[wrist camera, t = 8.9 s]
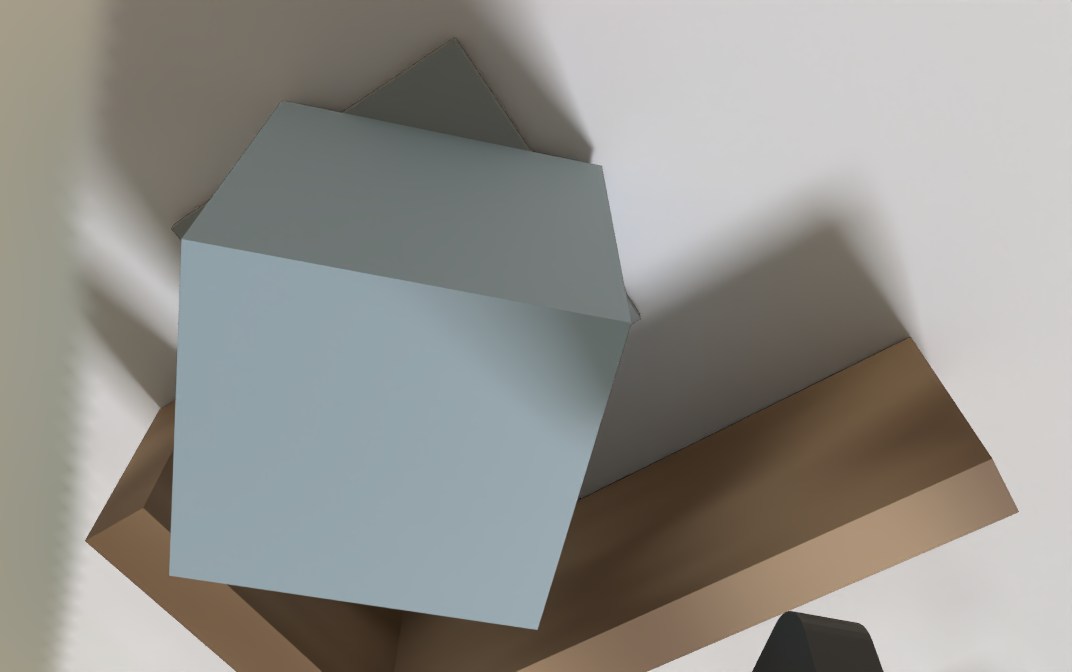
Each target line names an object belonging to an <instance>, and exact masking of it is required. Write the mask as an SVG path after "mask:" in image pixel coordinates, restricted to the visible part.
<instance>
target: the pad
mask: <svg viewBox="0 0 1072 672" xmlns="http://www.w3.org/2000/svg"><path fill="white" fill-rule="evenodd" d="M342 113H346V114H351V115H356V116H361V117H366V118H371V119H375V120H380V121H385V122H390V123H395V124H400V125H405V126H410V127H415V128H419V129H424V130H429V131H434V132H439V133H444V134H449V135H454V136H459V137H463V138H468V139H473V140H478V141H483V142H488V143H493V144H498V145H502V146H507V147H512V148H517V149H522V150H527V151H531V150H530V149H529V147H528V146H527V144H526V143H525V141H524V140H523V138H522V137H521V135H520V134H519V132H518V131H517V129H516V128H515V126H514V125H513V123H512V122H511V120H510V119H509V117H508V116H507V114H506V113H505V111H504V110H503V108H502V107H501V105H500V104H499V102H498V101H497V99H496V98H495V96H494V95H493V93H492V92H491V90H490V89H489V87H488V86H487V84H486V83H485V81H484V80H483V78H482V77H481V75H480V74H479V72H478V71H477V69H476V68H475V66H474V65H473V63H472V62H471V60H470V59H469V57H468V56H467V54H466V53H465V51H464V50H463V48H462V47H461V45H460V44H459V42H458V41H457V39H456V38H455V37H454V38H453V39H451V40H450V41H448V42H447V43H445V44H444V45H442V46H441V47H439V48H438V49H436V50H435V51H433V52H432V53H430V54H429V55H427V56H426V57H424V58H423V59H421V60H420V61H418V62H417V63H415V64H414V65H412V66H411V67H409V68H408V69H406V70H405V71H403V72H402V73H400V74H399V75H397V76H396V77H394V78H393V79H391V80H390V81H388V82H387V83H385V84H384V85H382V86H381V87H379V88H378V89H376V90H375V91H373V92H372V93H370V94H369V95H367V96H366V97H364V98H363V99H361V100H360V101H358V102H357V103H355V104H354V105H352V106H351V107H349V108H348V109H346V110H345V111H343V112H342ZM208 202H209V201H208ZM208 202H207V203H208ZM207 203H205V204H204V205H202V206H201V207H199V208H198V209H196V210H195V211H193V212H192V213H190V214H189V215H187V216H186V217H184V218H183V219H181V220H180V221H178V222H177V223H175V224H174V225H173V227H172V228H171V230H172V231H173V232H174V233H175V234H176V235H177V236H178V237H179V238H180V240H181V239H182V238H183V236H184V235H185V233H186V232H187V231H188V229H189V228H190V227H191V225H192V224H193V222H194V221H195V220H196V218H197V217H198V216H199V214H200V213H201V211H202V210H203V209H204V207H205V206H206V205H207ZM626 297H627V302H628V308H629V313H630V318H631V324H633V323H635V322H637V321H638V320H640V319H641V318H640V313H639V312H638V310H637V309H636V307H635V306H634V304H633V303H632V301H631V300H630V298H629V297H628V295H627V294H626Z"/></svg>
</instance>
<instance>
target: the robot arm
mask: <svg viewBox="0 0 1072 672" xmlns="http://www.w3.org/2000/svg"><path fill="white" fill-rule="evenodd" d="M752 672H883V669H882V667H881V664H880V661H879V658H878V655H877V653H876V650H875V647H874V644H873V641H872V639H871V637H870V634H869V633H868V631H867V630H866V628H865V627H864V626H863V625H861V624H859V623H855V622H849V621H844V620H838V619H832V618H827V617H821V616H815V615H810V614H804V613H798V612H793V611H788V612H785V613H784V614H783V615H782V616H781V617H780V618H779V619H778V621H777V623H776V625H775V627H774V629H773V631H772V633H771V635H770V637H769V639H768V641H767V643H766V645H765V647H764V649H763V651H762V653H761V655H760V657H759V659H758V661H757V663H756V665H755V667H754V669H753V671H752Z"/></svg>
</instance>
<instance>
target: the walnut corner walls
mask: <svg viewBox="0 0 1072 672" xmlns="http://www.w3.org/2000/svg"><path fill="white" fill-rule="evenodd" d="M175 402H176V400H175V401H173V402H172V403H170V404H168V405H167V406H165V407H163V408H162V409H160V410H159V412H158V413H157V415H156V417H155V419H154V420H153V422H152V424H151V426H150V427H149V429H148V431H147V433H146V434H145V436H144V438H143V440H142V441H141V443H140V445H139V447H138V448H137V450H136V452H135V454H134V456H133V457H132V459H131V461H130V463H129V464H128V466H127V468H126V470H125V471H124V473H123V475H122V477H121V478H120V480H119V482H118V484H117V485H116V487H115V489H114V491H113V493H112V494H111V496H110V498H109V500H108V501H107V503H106V505H105V507H104V508H103V510H102V512H101V514H100V515H99V517H98V519H97V521H96V522H95V524H94V526H93V528H92V529H91V531H90V533H89V535H88V537H87V538H86V540H85V541H86V542H87V543H88V544H89V545H90V546H91V547H93V548H94V549H95V550H96V551H97V552H98V553H99V554H101V555H102V556H103V557H104V558H105V559H106V560H108V561H109V562H110V563H111V564H112V565H113V566H115V567H116V568H117V569H118V570H119V571H120V572H122V573H123V574H124V575H125V576H126V577H127V578H128V579H130V580H131V581H132V582H133V583H134V584H135V585H137V586H138V587H139V588H140V589H141V590H142V591H144V592H145V593H146V594H147V595H148V596H149V597H150V598H152V599H153V600H154V601H155V602H156V603H157V604H159V605H160V606H161V607H162V608H163V609H164V610H166V611H167V612H168V613H169V614H170V615H171V616H172V617H174V618H175V619H176V620H177V621H178V622H179V623H181V624H182V625H183V626H184V627H185V628H186V629H188V630H189V631H190V632H191V633H192V634H193V635H194V636H196V637H197V638H198V639H199V640H200V641H201V642H203V643H204V644H205V645H206V646H207V647H208V648H210V649H211V650H212V651H213V652H214V653H215V654H217V655H218V656H219V657H220V658H221V659H222V660H223V661H225V662H226V663H227V664H228V665H229V666H230V667H232V668H233V669H234V670H235V671H236V672H647V671H650V670H652V669H654V668H657V667H659V666H661V665H664V664H666V663H668V662H671V661H673V660H675V659H678V658H680V657H682V656H685V655H687V654H689V653H692V652H694V651H696V650H699V649H701V648H703V647H706V646H708V645H710V644H713V643H715V642H717V641H719V640H722V639H724V638H726V637H729V636H731V635H733V634H736V633H738V632H740V631H743V630H745V629H747V628H750V627H752V626H754V625H757V624H759V623H761V622H764V621H766V620H768V619H771V618H773V617H775V616H778V615H780V614H782V613H785V612H787V611H789V610H792V609H794V608H796V607H799V606H801V605H803V604H806V603H808V602H810V601H813V600H815V599H817V598H820V597H822V596H824V595H827V594H829V593H831V592H834V591H836V590H838V589H841V588H843V587H845V586H848V585H850V584H852V583H855V582H857V581H859V580H862V579H864V578H866V577H869V576H871V575H873V574H876V573H878V572H880V571H883V570H885V569H887V568H890V567H892V566H894V565H897V564H899V563H901V562H904V561H906V560H908V559H911V558H913V557H915V556H918V555H920V554H922V553H925V552H927V551H929V550H932V549H934V548H936V547H939V546H941V545H943V544H946V543H948V542H950V541H953V540H955V539H957V538H960V537H962V536H964V535H967V534H969V533H971V532H974V531H976V530H978V529H981V528H983V527H985V526H988V525H990V524H992V523H995V522H997V521H999V520H1001V519H1004V518H1006V517H1008V516H1011V515H1013V514H1015V513H1018V512H1019V511H1018V509H1017V507H1016V505H1015V503H1014V501H1013V499H1012V497H1011V495H1010V493H1009V491H1008V489H1007V487H1006V485H1005V483H1004V481H1003V479H1002V477H1001V475H1000V473H999V471H998V469H997V467H996V465H995V463H994V461H993V459H992V458H991V456H990V455H989V453H988V452H987V450H986V449H985V447H984V446H983V444H982V443H981V441H980V440H979V438H978V437H977V435H976V434H975V432H974V431H973V429H972V428H971V426H970V425H969V423H968V422H967V420H966V419H965V417H964V416H963V414H962V413H961V411H960V410H959V408H958V407H957V405H956V404H955V402H954V401H953V399H952V398H951V396H950V395H949V393H948V392H947V390H946V389H945V387H944V386H943V384H942V383H941V381H940V380H939V378H938V377H937V375H936V374H935V372H934V371H933V369H932V368H931V366H930V365H929V364H928V362H927V361H926V359H925V358H924V356H923V355H922V353H921V352H920V350H919V349H918V347H917V346H916V344H915V343H914V341H913V340H912V338H911V337H909V338H907V339H905V340H903V341H901V342H899V343H897V344H895V345H893V346H891V347H889V348H887V349H885V350H883V351H881V352H879V353H877V354H875V355H873V356H871V357H869V358H867V359H865V360H863V361H861V362H859V363H857V364H855V365H853V366H850V367H848V368H846V369H844V370H842V371H840V372H838V373H836V374H834V375H832V376H830V377H828V378H826V379H824V380H822V381H820V382H818V383H816V384H814V385H812V386H810V387H808V388H806V389H804V390H802V391H800V392H798V393H796V394H794V395H792V396H790V397H788V398H786V399H784V400H781V401H779V402H777V403H775V404H773V405H771V406H769V407H767V408H765V409H763V410H761V411H759V412H757V413H755V414H753V415H751V416H749V417H747V418H745V419H743V420H741V421H739V422H737V423H735V424H733V425H731V426H729V427H727V428H725V429H723V430H721V431H719V432H717V433H715V434H713V435H710V436H708V437H706V438H704V439H702V440H700V441H698V442H696V443H694V444H692V445H690V446H688V447H686V448H684V449H682V450H680V451H678V452H676V453H674V454H672V455H670V456H668V457H666V458H664V459H662V460H660V461H658V462H656V463H654V464H652V465H650V466H648V467H646V468H644V469H641V470H639V471H637V472H635V473H633V474H631V475H629V476H627V477H625V478H623V479H621V480H619V481H617V482H615V483H613V484H611V485H609V486H607V487H605V488H603V489H601V490H599V491H597V492H595V493H593V494H591V495H589V496H587V497H585V498H583V499H581V500H579V501H577V502H576V505H575V509H574V512H573V515H572V519H571V522H570V525H569V528H568V532H567V535H566V538H565V541H564V545H563V548H562V551H561V555H560V558H559V561H558V564H557V568H556V571H555V574H554V577H553V581H552V584H551V587H550V591H549V594H548V597H547V600H546V604H545V607H544V610H543V613H542V617H541V620H540V623H539V627H538V630H535V629H528V628H521V627H514V626H508V625H501V624H494V623H487V622H481V621H474V620H467V619H460V618H453V617H447V616H440V615H433V614H426V613H420V612H413V611H406V610H399V609H392V608H386V607H379V606H372V605H365V604H359V603H352V602H345V601H338V600H331V599H325V598H318V597H311V596H304V595H297V594H291V593H284V592H277V591H270V590H264V589H257V588H250V587H243V586H236V585H230V584H223V583H216V582H209V581H203V580H196V579H189V578H182V577H175V576H169V566H170V539H171V512H172V484H173V457H174V429H175Z"/></svg>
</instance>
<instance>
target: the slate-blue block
mask: <svg viewBox="0 0 1072 672" xmlns="http://www.w3.org/2000/svg"><path fill="white" fill-rule="evenodd" d="M630 326H631V318H630V313H629V308H628V302H627V297H626V292H625V286H624V281H623V276H622V270H621V265H620V260H619V254H618V249H617V244H616V238H615V233H614V228H613V222H612V217H611V212H610V206H609V201H608V196H607V190H606V185H605V180H604V174H603V169H602V166H600V165H595V164H590V163H586V162H581V161H576V160H571V159H566V158H561V157H556V156H551V155H546V154H542V153H537V152H532V151H527V150H522V149H517V148H512V147H507V146H502V145H498V144H493V143H488V142H483V141H478V140H473V139H468V138H463V137H459V136H454V135H449V134H444V133H439V132H434V131H429V130H424V129H419V128H415V127H410V126H405V125H400V124H395V123H390V122H385V121H380V120H375V119H371V118H366V117H361V116H356V115H351V114H346V113H341V112H336V111H331V110H327V109H322V108H317V107H312V106H307V105H302V104H297V103H292V102H288V101H283V100H282V101H281V103H280V104H279V105H278V107H277V108H276V109H275V111H274V112H273V114H272V115H271V116H270V118H269V119H268V120H267V122H266V123H265V125H264V126H263V127H262V129H261V130H260V131H259V133H258V134H257V136H256V137H255V138H254V140H253V141H252V143H251V144H250V145H249V147H248V148H247V149H246V151H245V152H244V154H243V155H242V156H241V158H240V159H239V160H238V162H237V163H236V165H235V166H234V167H233V169H232V170H231V171H230V173H229V174H228V176H227V177H226V178H225V180H224V181H223V182H222V184H221V185H220V187H219V188H218V189H217V191H216V192H215V193H214V195H213V196H212V198H211V199H210V200H209V202H208V203H207V205H206V206H205V207H204V209H203V210H202V211H201V213H200V214H199V216H198V217H197V218H196V220H195V221H194V222H193V224H192V225H191V227H190V228H189V229H188V231H187V232H186V233H185V235H184V236H183V238H182V239H181V265H180V292H179V320H178V347H177V375H176V402H175V429H174V457H173V484H172V512H171V539H170V566H169V576H175V577H182V578H189V579H196V580H203V581H209V582H216V583H223V584H230V585H236V586H243V587H250V588H257V589H264V590H270V591H277V592H284V593H291V594H297V595H304V596H311V597H318V598H325V599H331V600H338V601H345V602H352V603H359V604H365V605H372V606H379V607H386V608H392V609H399V610H406V611H413V612H420V613H426V614H433V615H440V616H447V617H453V618H460V619H467V620H474V621H481V622H487V623H494V624H501V625H508V626H514V627H521V628H528V629H535V630H538V627H539V623H540V620H541V617H542V613H543V610H544V607H545V604H546V600H547V597H548V594H549V591H550V587H551V584H552V581H553V577H554V574H555V571H556V568H557V564H558V561H559V558H560V555H561V551H562V548H563V545H564V541H565V538H566V535H567V532H568V528H569V525H570V522H571V519H572V515H573V512H574V509H575V505H576V502H577V499H578V496H579V492H580V489H581V486H582V483H583V479H584V476H585V473H586V470H587V466H588V463H589V460H590V456H591V453H592V450H593V447H594V443H595V440H596V437H597V434H598V430H599V427H600V424H601V420H602V417H603V414H604V411H605V407H606V404H607V401H608V398H609V394H610V391H611V388H612V384H613V381H614V378H615V375H616V371H617V368H618V365H619V362H620V358H621V355H622V352H623V348H624V345H625V342H626V339H627V335H628V332H629V329H630Z"/></svg>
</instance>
